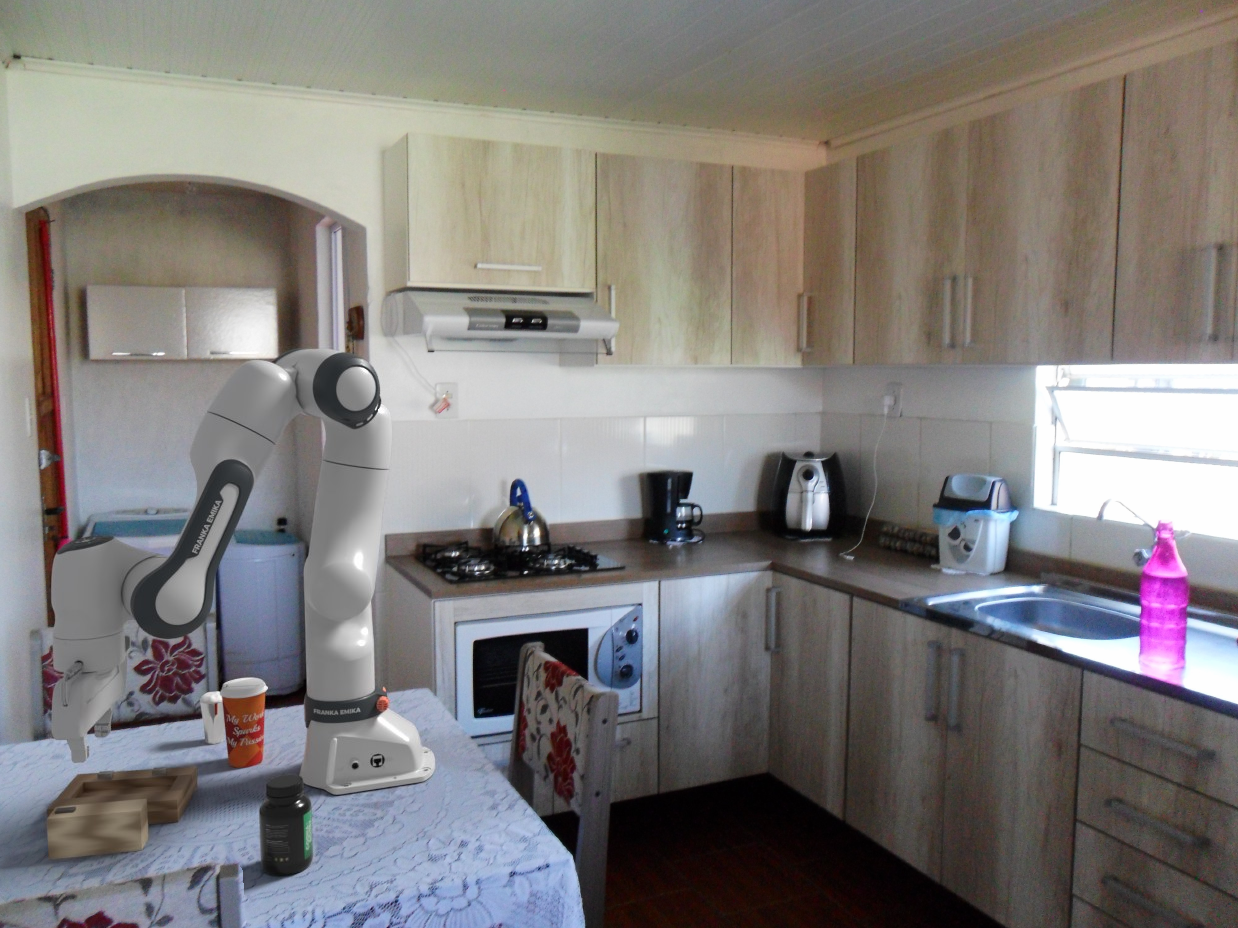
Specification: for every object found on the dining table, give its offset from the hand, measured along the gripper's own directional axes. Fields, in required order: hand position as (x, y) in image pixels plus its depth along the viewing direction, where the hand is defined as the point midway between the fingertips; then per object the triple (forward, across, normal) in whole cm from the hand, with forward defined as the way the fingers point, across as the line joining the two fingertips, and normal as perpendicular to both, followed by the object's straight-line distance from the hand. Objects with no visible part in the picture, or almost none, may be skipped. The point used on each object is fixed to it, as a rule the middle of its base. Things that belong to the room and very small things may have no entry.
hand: (92, 747), depth 139 cm
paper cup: (+15, +29, -16) cm, 36 cm away
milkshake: (+15, +40, -9) cm, 44 cm away
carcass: (+15, +13, -1) cm, 20 cm away
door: (+15, 0, -1) cm, 15 cm away
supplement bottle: (+15, -10, -28) cm, 33 cm away
